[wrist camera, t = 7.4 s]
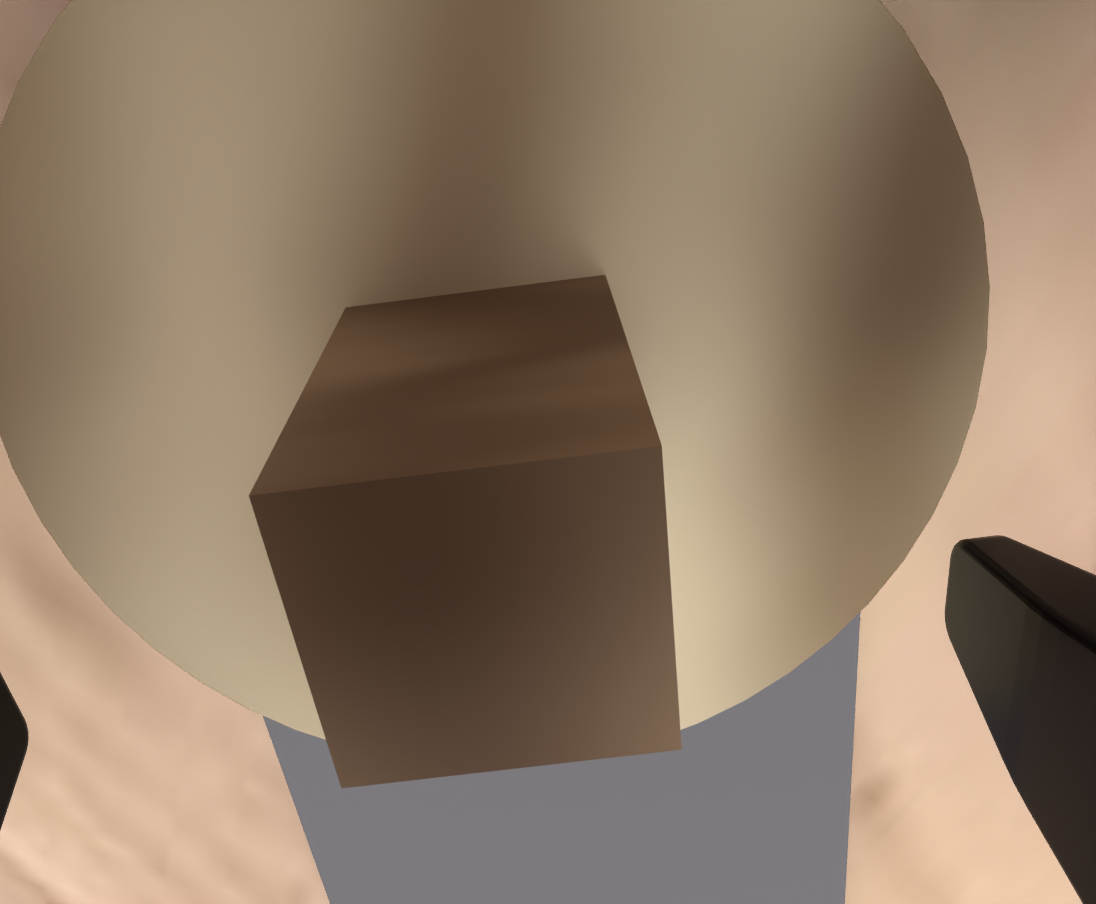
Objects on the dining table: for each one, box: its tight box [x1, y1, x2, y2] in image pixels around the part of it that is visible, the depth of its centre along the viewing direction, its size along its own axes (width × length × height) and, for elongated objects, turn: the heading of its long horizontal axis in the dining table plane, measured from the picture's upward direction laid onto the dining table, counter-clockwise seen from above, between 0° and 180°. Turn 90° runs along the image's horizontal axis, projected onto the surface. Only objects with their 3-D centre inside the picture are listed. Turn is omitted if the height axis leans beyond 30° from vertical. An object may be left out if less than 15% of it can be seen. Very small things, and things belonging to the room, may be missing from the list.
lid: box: [0, 0, 990, 788], centre depth 11 cm, size 14×14×6 cm
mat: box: [263, 612, 860, 904], centre depth 26 cm, size 16×16×1 cm
